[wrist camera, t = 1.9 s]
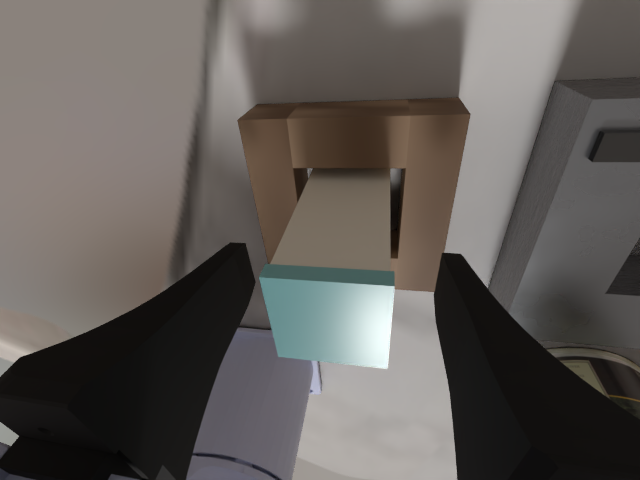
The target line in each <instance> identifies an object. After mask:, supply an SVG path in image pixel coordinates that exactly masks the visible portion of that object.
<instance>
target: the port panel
mask: <svg viewBox="0 0 640 480" xmlns="http://www.w3.org/2000/svg"><path fill="white" fill-rule="evenodd" d="M639 238H640V78H619V79H594V80H569V81H555V83H554V86H553V89H552V92H551V95H550V98H549V101H548V104H547V108H546V111H545V114H544V117H543V120H542V123H541V126H540V129H539V133H538V136H537V139H536V142H535V145H534V148H533V151H532V154H531V158H530V161H529V164H528V167H527V170H526V173H525V176H524V179H523V183H522V186H521V189H520V192H519V195H518V198H517V201H516V204H515V208H514V211H513V214H512V217H511V220H510V223H509V226H508V229H507V232H506V236H505V239H504V242H503V245H502V248H501V251H500V254H499V257H498V261H497V264H496V267H495V270H494V273H493V276H492V279H491V282H490V286H489V289H488V290H489V291H490V292H491V293H492V295H493V296H494V297H495V298H496V299H497V301H498V302H499V303H500V304H501V305H502V306H503V307H504V309H505V310H506V311H507V312H508V313H509V314H510V315H511V316H512V317H513V318H514V319H515V320H516V321H517V322H518V323H519V324H520V326H521V327H522V328H523V329H524V330H525V331H526V332H528V333H529V334H530V335H531V336H532V337H533V338H534V339H535V340H542V341H554V342H565V343H576V344H587V345H599V346H610V347H621V348H632V349H640V256H635V255H629V254H630V253H631V251H632V249H633V248H634V246H635V245H636V243H637V241H638V240H639Z"/></svg>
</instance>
